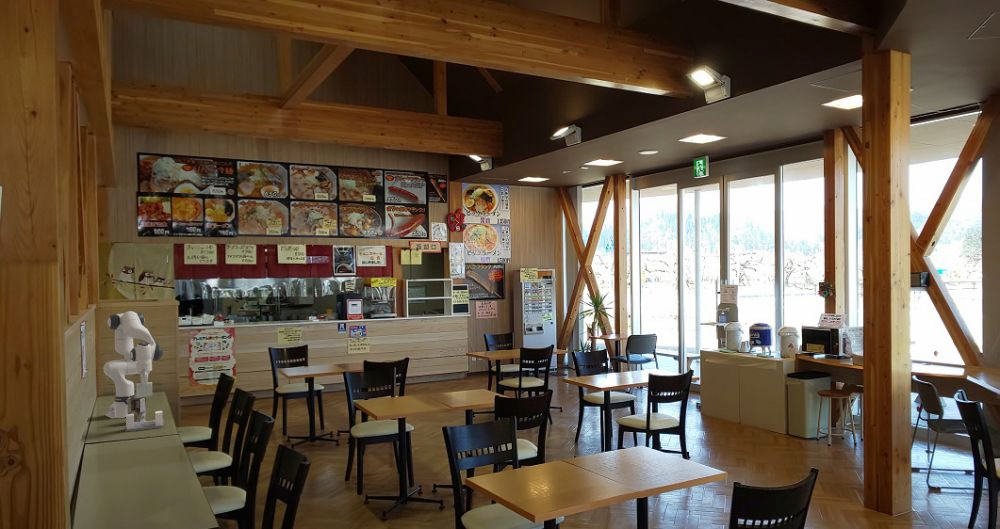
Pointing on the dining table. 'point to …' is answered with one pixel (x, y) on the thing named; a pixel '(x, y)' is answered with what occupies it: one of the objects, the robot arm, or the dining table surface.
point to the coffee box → (137, 408)
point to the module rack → (144, 425)
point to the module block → (144, 393)
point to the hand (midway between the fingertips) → (144, 390)
